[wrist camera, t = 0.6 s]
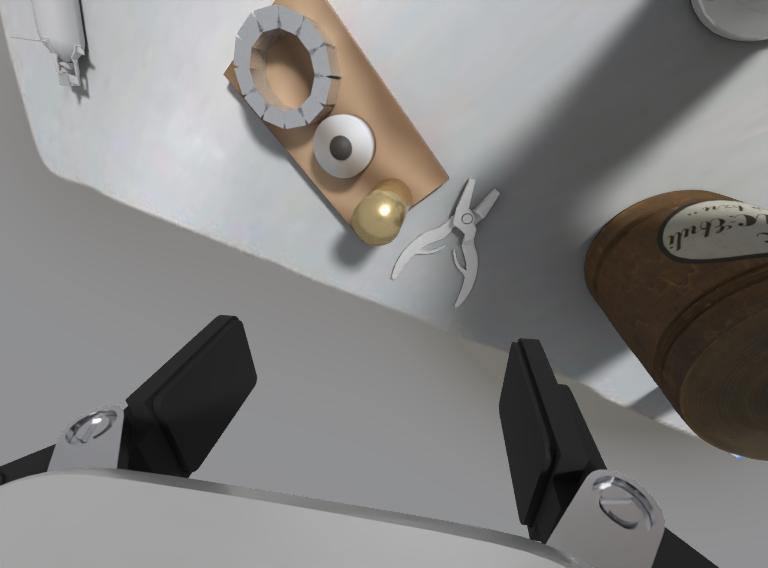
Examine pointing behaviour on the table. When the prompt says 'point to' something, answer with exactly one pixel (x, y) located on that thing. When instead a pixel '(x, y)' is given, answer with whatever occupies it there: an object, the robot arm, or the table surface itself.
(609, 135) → the table surface
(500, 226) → the table surface
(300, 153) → the fitting board
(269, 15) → the ring
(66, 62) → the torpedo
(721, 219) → the wooden container
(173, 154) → the table surface
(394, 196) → the brass peg
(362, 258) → the table surface
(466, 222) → the pliers
